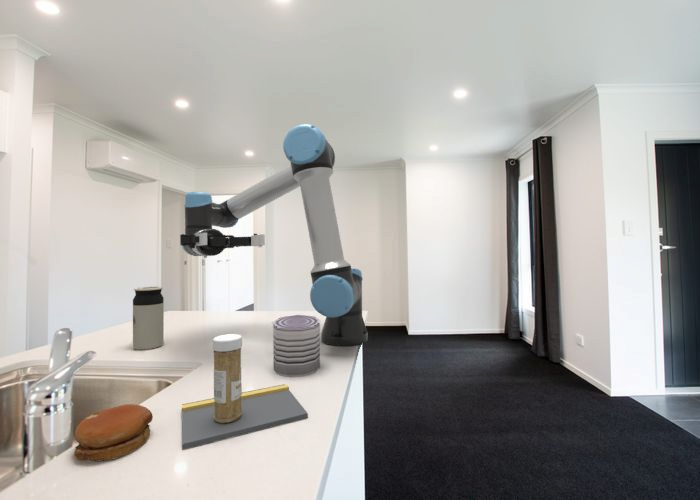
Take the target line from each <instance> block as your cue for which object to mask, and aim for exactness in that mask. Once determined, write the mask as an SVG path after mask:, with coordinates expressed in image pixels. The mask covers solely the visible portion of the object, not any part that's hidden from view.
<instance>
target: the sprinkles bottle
mask: <svg viewBox="0 0 700 500" xmlns="http://www.w3.org/2000/svg"><path fill="white" fill-rule="evenodd" d="M242 339H243V336H242V335H241V334H236V333H229V334H227V333H226V334H221V335H217V336H215V337H214V338H213V339H212V350H213V351H212V352H213V398H214V401H215V403H214V409H215V414H214V420H215V421H216V422H219V423H228V422H233V421H235V420H237V419H238V418H240V417H241V415H242V409H241V395H242V389H243V388H242V356H241V355H242V351H241V350H242V346H243V340H242Z"/></svg>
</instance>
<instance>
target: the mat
mask: <svg viewBox="0 0 700 500" xmlns="http://www.w3.org/2000/svg"><path fill="white" fill-rule="evenodd" d="M214 403H215V401H214V397H213V398H208V399H203V400H197V401H192V402H187V403H182V404H181V428H182V429H181V431H182V432H181V433H182V434H181V436H182V438H181V439H182V441H181V443H182V444H181V445H182V450H186V449H187V450H188V449H191V448H193V447H194V448H195V447H199V446H202V445H206V444H207V445H208V444H211V443H215V442H218V441H223V440H226V439H230V438H233V437H239V436H241V435H246V434H250V433H253V432H258V431H261V430H267V429H270V428H272V427H276V426H282V425H284V424H285V425H286V424H289V423H294V422H297V421H301V420H305V419H309V418H308V417H309V416H308V415H309V412H308V411H306V410H305V408H304V407H303V405H302V404H301V403H300V402H299V400H298V399H297V398H296V397H295V396H294V394H293V393H292V392H291V391H290V386H289V385H288V384H287V383H286V384H285V383H283V384H279V385H273V386H268V387H262V388H258V389H253V390H247V391H244V392H242V395H241V409H242V415H241V417H240V418H238V419H237V420H235V421H233V422H228V423H219V422H216V421H215V420H214V414H215V409H214Z"/></svg>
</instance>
